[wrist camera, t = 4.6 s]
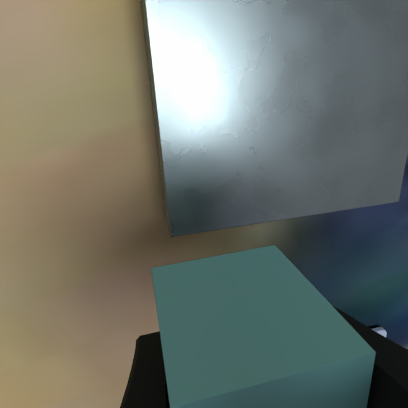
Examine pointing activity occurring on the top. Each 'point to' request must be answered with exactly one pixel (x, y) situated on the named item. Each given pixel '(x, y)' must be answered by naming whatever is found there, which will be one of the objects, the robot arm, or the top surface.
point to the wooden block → (255, 336)
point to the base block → (276, 107)
